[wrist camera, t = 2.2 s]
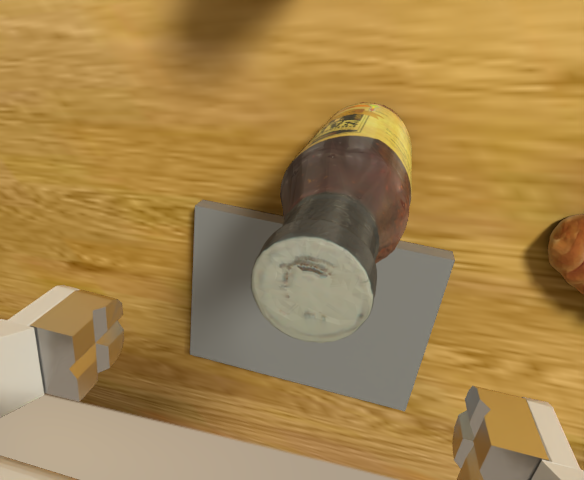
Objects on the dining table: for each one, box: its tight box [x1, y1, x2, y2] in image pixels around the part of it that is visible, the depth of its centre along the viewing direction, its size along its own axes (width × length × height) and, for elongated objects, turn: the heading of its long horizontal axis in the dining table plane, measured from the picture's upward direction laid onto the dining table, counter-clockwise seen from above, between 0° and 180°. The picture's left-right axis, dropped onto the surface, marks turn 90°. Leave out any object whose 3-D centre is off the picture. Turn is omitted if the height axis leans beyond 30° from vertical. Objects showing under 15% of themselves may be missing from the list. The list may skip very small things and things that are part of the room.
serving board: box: [190, 200, 455, 411], centre depth 37 cm, size 20×15×2 cm
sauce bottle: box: [251, 102, 412, 343], centre depth 22 cm, size 7×6×20 cm
